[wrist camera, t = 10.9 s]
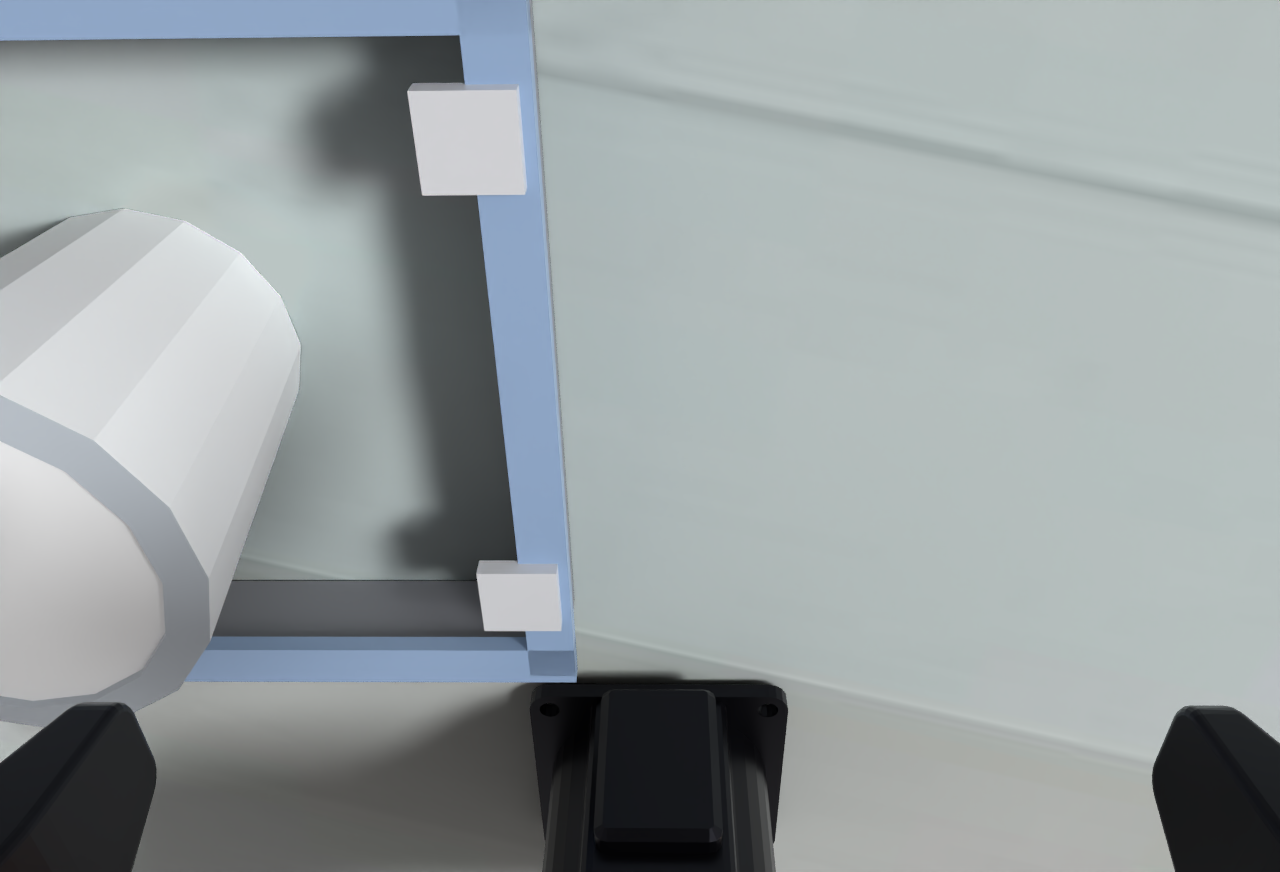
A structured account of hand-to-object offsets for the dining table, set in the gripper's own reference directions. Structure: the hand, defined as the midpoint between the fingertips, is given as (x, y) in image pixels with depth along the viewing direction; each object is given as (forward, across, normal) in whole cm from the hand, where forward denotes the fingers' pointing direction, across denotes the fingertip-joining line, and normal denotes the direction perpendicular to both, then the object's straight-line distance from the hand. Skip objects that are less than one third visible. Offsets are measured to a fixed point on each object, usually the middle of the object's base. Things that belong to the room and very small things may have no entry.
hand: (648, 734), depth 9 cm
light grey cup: (+12, +10, +3) cm, 16 cm away
